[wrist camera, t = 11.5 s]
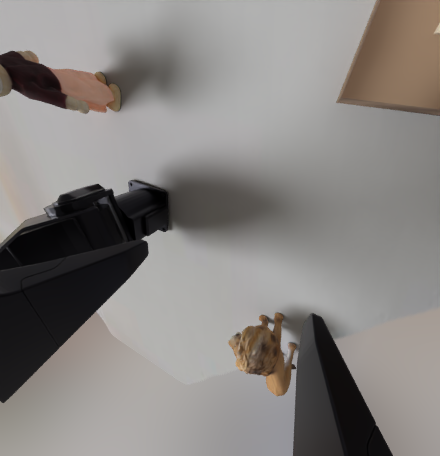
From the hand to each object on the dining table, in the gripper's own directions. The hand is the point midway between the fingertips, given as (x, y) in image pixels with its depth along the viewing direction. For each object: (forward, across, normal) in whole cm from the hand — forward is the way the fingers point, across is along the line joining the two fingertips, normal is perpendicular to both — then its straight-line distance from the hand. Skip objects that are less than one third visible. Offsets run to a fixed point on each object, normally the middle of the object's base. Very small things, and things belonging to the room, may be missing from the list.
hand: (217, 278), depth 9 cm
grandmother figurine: (+13, +21, -7) cm, 26 cm away
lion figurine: (+13, -7, +20) cm, 25 cm away
